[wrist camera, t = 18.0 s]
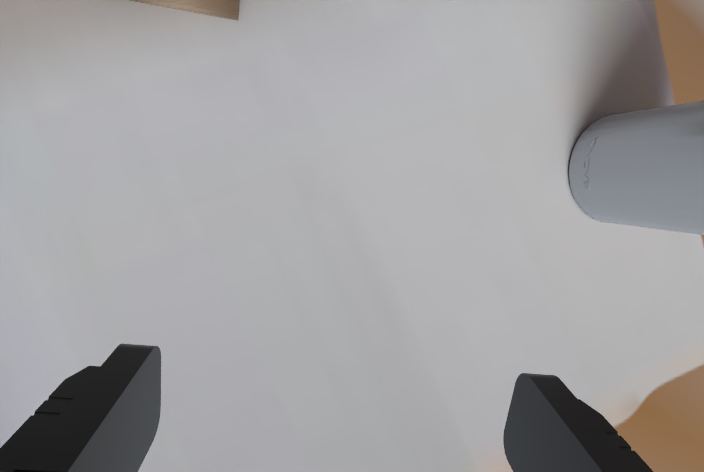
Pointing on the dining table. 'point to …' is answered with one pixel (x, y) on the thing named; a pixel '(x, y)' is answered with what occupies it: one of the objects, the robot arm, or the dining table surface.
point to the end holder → (201, 6)
